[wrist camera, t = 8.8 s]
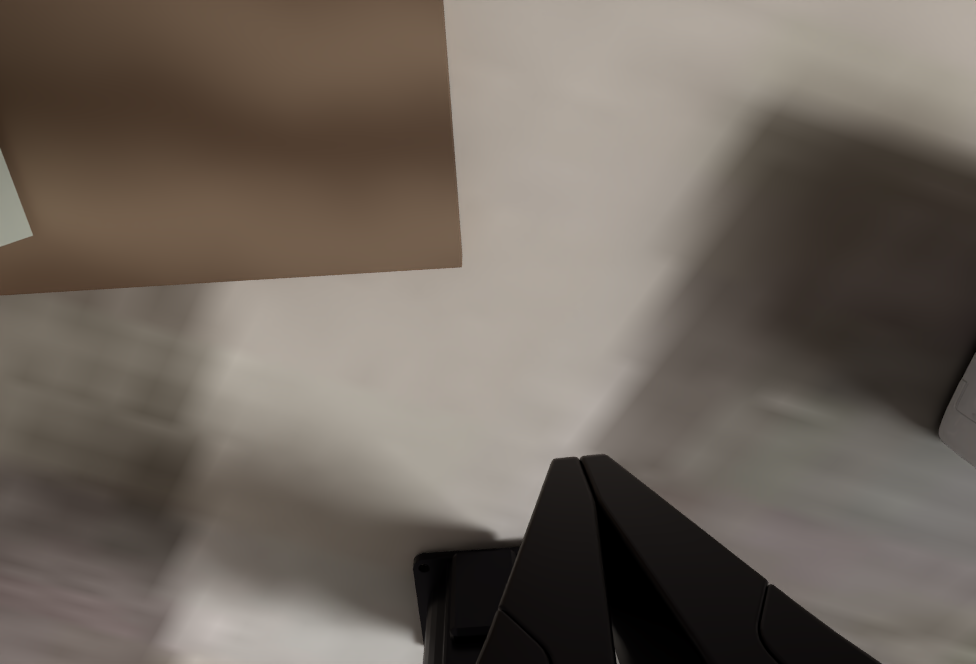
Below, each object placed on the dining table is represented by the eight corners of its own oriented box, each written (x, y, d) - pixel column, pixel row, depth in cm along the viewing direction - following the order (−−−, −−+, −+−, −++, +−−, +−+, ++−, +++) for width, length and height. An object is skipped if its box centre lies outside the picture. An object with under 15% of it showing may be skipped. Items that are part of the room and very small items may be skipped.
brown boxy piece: (462, 255, 21) (458, 323, 15) (-147, 292, 21) (-398, 376, 15) (437, -76, 17) (419, -166, 11) (-317, -32, 17) (-756, -98, 11)
